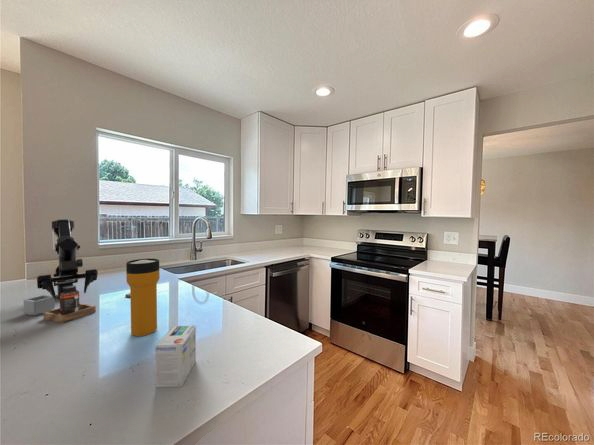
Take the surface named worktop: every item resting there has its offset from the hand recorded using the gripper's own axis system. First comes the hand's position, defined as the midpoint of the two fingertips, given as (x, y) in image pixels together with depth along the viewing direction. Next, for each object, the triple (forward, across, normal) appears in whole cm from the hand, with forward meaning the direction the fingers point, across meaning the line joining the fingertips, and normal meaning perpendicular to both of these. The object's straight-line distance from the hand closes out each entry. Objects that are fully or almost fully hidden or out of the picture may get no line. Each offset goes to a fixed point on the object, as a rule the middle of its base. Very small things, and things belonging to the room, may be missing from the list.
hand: (70, 295), depth 102 cm
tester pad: (0, +25, +12) cm, 28 cm away
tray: (+6, 0, +6) cm, 9 cm away
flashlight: (+32, +18, -20) cm, 41 cm away
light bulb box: (+55, +18, -43) cm, 72 cm away
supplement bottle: (+5, 0, +6) cm, 8 cm away
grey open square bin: (-4, -9, +16) cm, 19 cm away
